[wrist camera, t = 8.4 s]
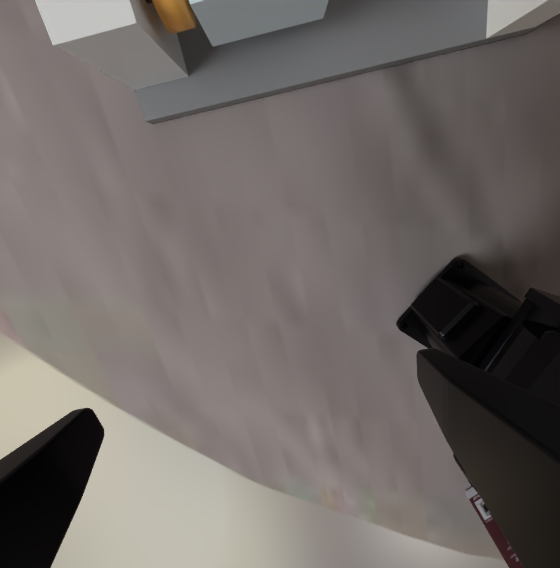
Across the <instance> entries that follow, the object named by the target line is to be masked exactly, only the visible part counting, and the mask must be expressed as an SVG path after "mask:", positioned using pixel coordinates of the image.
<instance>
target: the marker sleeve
mask: <svg viewBox="0 0 560 568" xmlns="http://www.w3.org/2000/svg"><path fill="white" fill-rule="evenodd" d="M328 1H329V0H189V2H190V5H191V7H192V9H193V11H194V13H195V15H196V16H197V18H198V20H199V22H200V24H201V26H202V28H203V30H204V31H205V33H206V35H207V37H208V39H209V41H210V43H211V45H212V46H213V47H214V46H218V45H221V44H225V43H229V42H233V41H237V40H241V39H245V38H249V37H253V36H257V35H260V34H264V33H268V32H272V31H276V30H280V29H284V28H288V27H292V26H296V25H299V24H303V23H307V22H311V21H315V20H319V19H323V17H324V14H325V11H326V7H327V4H328Z"/></svg>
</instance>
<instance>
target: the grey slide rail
mask: <svg viewBox="0 0 560 568" xmlns="http://www.w3.org/2000/svg"><path fill="white" fill-rule="evenodd" d="M35 2H36V4H37V7H38V9H39V11H40V14H41V16H42V19H43V21H44V24H45V26H46V29H47V31H48V34H49V36H50V39H51V41H52V44H53V46H55V47H57V48H59V49H61V50H63V51H64V52H66V53H68V54H70V55H72V56H74V57H75V58H77V59H79V60H81V61H83V62H84V63H86V64H88V65H90V66H92V67H94V68H95V69H97V70H99V71H101V72H103V73H105V74H106V75H108V76H110V77H112V78H114V79H115V80H117V81H119V82H121V83H123V84H125V85H126V86H128V87H130V88H132V89H134V90H135V93H136V96H137V99H138V102H139V105H140V108H141V111H142V114H143V117H144V120H145V122H148V123H151V124H154V123H159V122H163V121H167V120H171V119H175V118H179V117H183V116H188V115H192V114H196V113H200V112H204V111H208V110H213V109H217V108H221V107H225V106H229V105H233V104H237V103H242V102H246V101H250V100H254V99H258V98H262V97H266V96H271V95H275V94H279V93H283V92H287V91H291V90H295V89H300V88H304V87H308V86H312V85H316V84H320V83H325V82H329V81H333V80H337V79H341V78H345V77H349V76H354V75H358V74H362V73H366V72H370V71H374V70H378V69H383V68H387V67H391V66H395V65H399V64H403V63H408V62H412V61H416V60H420V59H424V58H428V57H432V56H437V55H441V54H445V53H449V52H453V51H457V50H461V49H466V48H470V47H474V46H478V45H482V44H486V43H490V42H495V41H499V40H503V39H507V38H511V37H515V36H520V35H524V34H527V33H528V32H530V31H532V30H534V29H536V28H538V27H539V26H541V25H542V23H543V22H545V21H547V20H549V19H551V18H552V17H554V16H556V15H558V14H560V0H329V1H328V4H327V7H326V11H325V14H324V17H323V19H319V20H315V21H311V22H307V23H303V24H299V25H296V26H292V27H288V28H284V29H280V30H276V31H272V32H268V33H264V34H260V35H257V36H253V37H249V38H245V39H241V40H237V41H233V42H229V43H225V44H221V45H218V46H214V47H213V46H212V45H211V43H210V41H209V39H208V37H207V35H206V33H205V31H204V30H203V28H202V26H201V24H200V22H199V20H198V18H197V16H196V15H195V13H194V11H193V9H192V7H191V5H190V2H189V0H35Z"/></svg>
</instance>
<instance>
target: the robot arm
mask: <svg viewBox="0 0 560 568" xmlns="http://www.w3.org/2000/svg"><path fill="white" fill-rule="evenodd" d="M459 263H461V265H460V267H458V268H457V265H458V264H459ZM524 297H526V299H525V301H524V302H523V303H521V302H520V301H519V300H518V299H517V298H515V297H514V296H513V295H511V294H510V293H509V292H507V291H506V290H505V289H503V288H502V287H501V286H499V285H498V284H497V283H495V282H494V281H493V280H491V279H490V278H489V277H487V276H486V275H485V274H483V273H482V272H481V271H479V270H478V269H477V268H475V267H474V266H473V265H471V264H470V263H469V262H467V261H466V260H464V259H462V258H455V259H454V260H452V261H451V262H450V263H449V265H448V266H447V267H446V268H445V269H444V270H443V271H442V272H441V273H440V274H439V276H438V277H437V278H435V279H434V280H433V281H432V282H431V283H430V284H429V285H428V287H427V288H426V289H425V290H424V291H423V292H422V293H421V294H420V295H419V296H418V298H417V299H416V300H415V301H414V302H413V303H412V305H411V306H410V307H409V308H408V309H407V311H406V312H405V313H404V314H403V315H402V316H401V317H400V318H399V319H398V321H397V323H396V325H397V327H398V328H399V329H400V330H401V331H402V332H404V333H405V334H407V335H408V336H410V337H412V338H413V339H415V340H416V341H418V342H419V343H421V344H423V345H424V346H426V347H427V348H428V349H423V350H419V351H418V352H417V377H418V381H419V384H420V386H421V389H422V391H423V393H424V395H425V397H426V399H427V401H428V403H429V405H430V407H431V409H432V412H433V414H434V416H435V418H436V420H437V422H438V424H439V426H440V428H441V430H442V432H443V434H444V436H445V438H446V440H447V442H448V444H449V446H450V447H451V449H452V451H453V453H454V454H453V456H454V458H455V461H456V463H457V464H458V466H459V467H460V469H461V470H462V472H463V473H464V475H465V476H466V478H467V479H468V481H469V483H470V484H471V485H472V487H473V488H474V489H475V490H476V492H477V493H478V494H479V495H480V497H481V498H482V500H483V502H484V504H483V508H484V510H485V511H486V512H487V513H488V514H489V515H491V516H492V517H493V518H494V520H495V521H496V523H497V525H498V526H499V528H500V530H501V531H502V533H503V534H504V536H505V538H506V539H507V541H508V543H509V544H510V546H511V548H512V549H513V551H514V552H515V554H516V556H517V557H518V559H519V561H520V562H521V564H522V566H523V567H524V568H560V297H559V296H556V295H553V294H550V293H547V292H544V291H540V290H537V289H534V288H530V289H529V290H528V292H527V293H526V295H525V296H524ZM403 323H406V325H404V326H402V324H403ZM103 438H104V429H103V426H102V425H101V423H100V422H99V420H98V418H97V417H96V415H95V413H94V411H93V410H92V409H90V408H84V409H78V410H74V411H72V412H70V413H69V414H68V415H66V416H64V417H63V418H61V419H60V420H59V421H57V422H56V423H54V424H53V425H51V426H50V427H48V428H47V429H45V430H44V431H42V432H41V433H39V434H38V435H36V436H35V437H33V438H32V439H30V440H29V441H27V442H26V443H24V444H23V445H22V446H20V447H19V448H17V449H16V450H14V451H13V452H11V453H10V454H8V455H7V456H5V457H4V458H2V459H1V460H0V568H51V565H52V563H53V561H54V559H55V556H56V554H57V552H58V550H59V548H60V545H61V543H62V541H63V539H64V537H65V534H66V532H67V530H68V528H69V526H70V523H71V521H72V519H73V516H74V514H75V512H76V510H77V508H78V505H79V503H80V501H81V498H82V496H83V493H84V491H85V488H86V485H87V483H88V480H89V477H90V474H91V471H92V468H93V466H94V463H95V460H96V457H97V455H98V452H99V449H100V446H101V444H102V441H103Z"/></svg>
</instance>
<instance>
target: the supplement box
mask: <svg viewBox="0 0 560 568" xmlns="http://www.w3.org/2000/svg"><path fill="white" fill-rule="evenodd" d="M465 493H466V495H467V497H468V498H469V500H470V502H471V503H472V505H473V507H474V508H475V510H476V512H477V514H478V515H479V517H480V519H481V520H482V522H483V524H484V525H485V527H486V529H487V531H488V532H489V534H490V536H491V537H492V539H493V541H494V543H495V544H496V546H497V548H498V550H499V551H500V553H501V555H502V556H503V558H504V560H505V561H506V563H507V565H508V567H509V568H524V567H523V566H522V564H521V562H520V561H519V559H518V557H517V556H516V554H515V552H514V551H513V549H512V548H511V546H510V544H509V543H508V541H507V539H506V538H505V536H504V534H503V533H502V531H501V530H500V528H499V526H498V525H497V523H496V521H495V520H494V518H493V517H492V516H491V515H489V514H488V513H487V512H486V511H485V510H484V508H483V504H484V502H483V500H482V498H481V497H480V495H479V494H478V493H477V492H476V490H475V489H474V488H473V487H470V488H469V489H467V490H466V491H465Z"/></svg>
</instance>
